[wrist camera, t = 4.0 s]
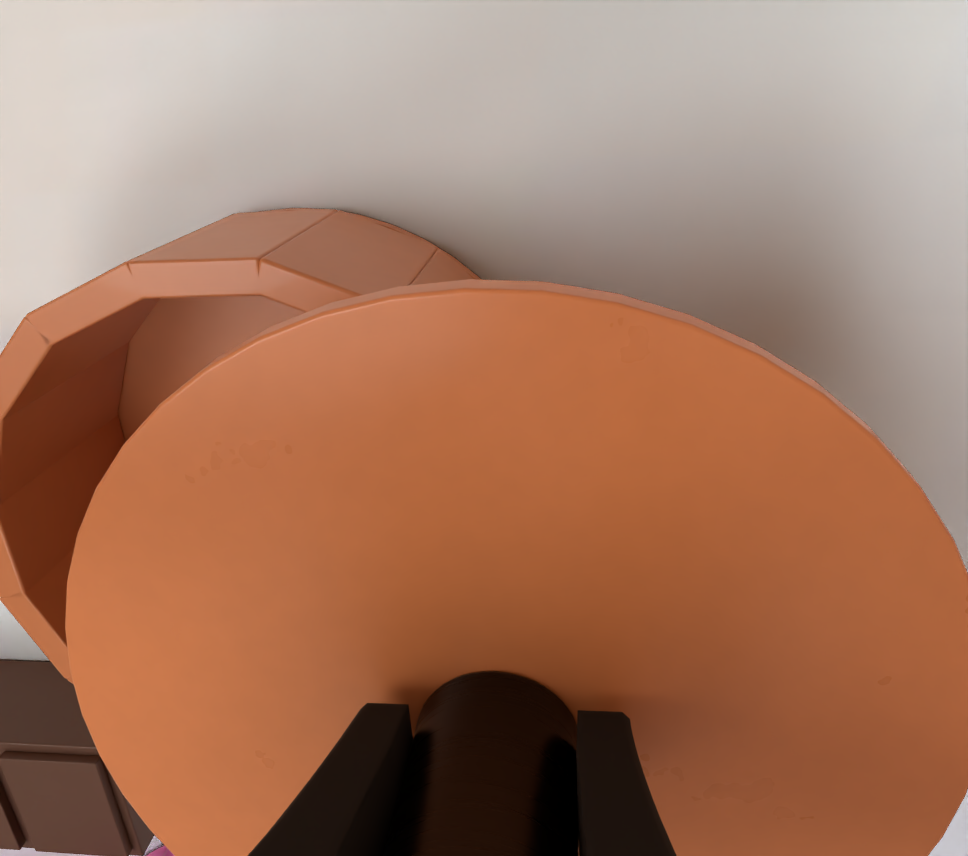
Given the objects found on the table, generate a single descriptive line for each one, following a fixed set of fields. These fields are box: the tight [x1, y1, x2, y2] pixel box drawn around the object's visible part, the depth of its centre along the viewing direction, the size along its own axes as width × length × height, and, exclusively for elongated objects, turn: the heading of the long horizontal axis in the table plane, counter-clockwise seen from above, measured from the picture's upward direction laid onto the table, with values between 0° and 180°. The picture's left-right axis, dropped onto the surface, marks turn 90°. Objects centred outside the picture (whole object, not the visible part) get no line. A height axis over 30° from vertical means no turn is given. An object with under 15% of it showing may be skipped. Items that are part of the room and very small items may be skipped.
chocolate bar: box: [0, 660, 154, 856], centre depth 25 cm, size 4×7×4 cm, turn 93°
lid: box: [65, 279, 968, 856], centre depth 11 cm, size 13×13×4 cm
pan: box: [0, 208, 482, 684], centre depth 19 cm, size 12×18×5 cm
